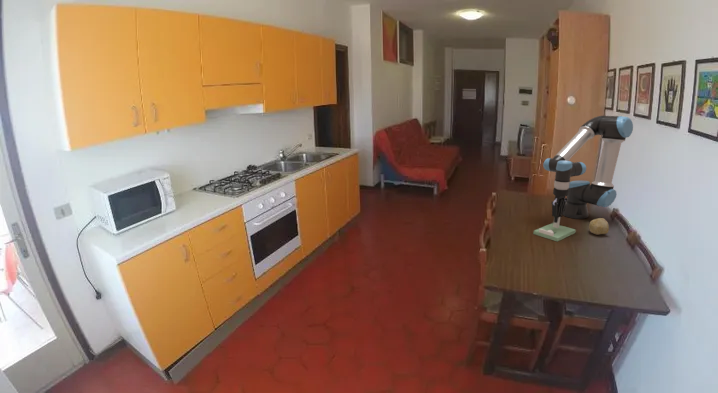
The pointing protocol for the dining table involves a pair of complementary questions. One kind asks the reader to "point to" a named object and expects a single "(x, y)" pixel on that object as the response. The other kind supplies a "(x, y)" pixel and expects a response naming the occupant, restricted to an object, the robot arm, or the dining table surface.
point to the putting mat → (554, 232)
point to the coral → (599, 226)
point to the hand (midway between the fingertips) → (555, 227)
